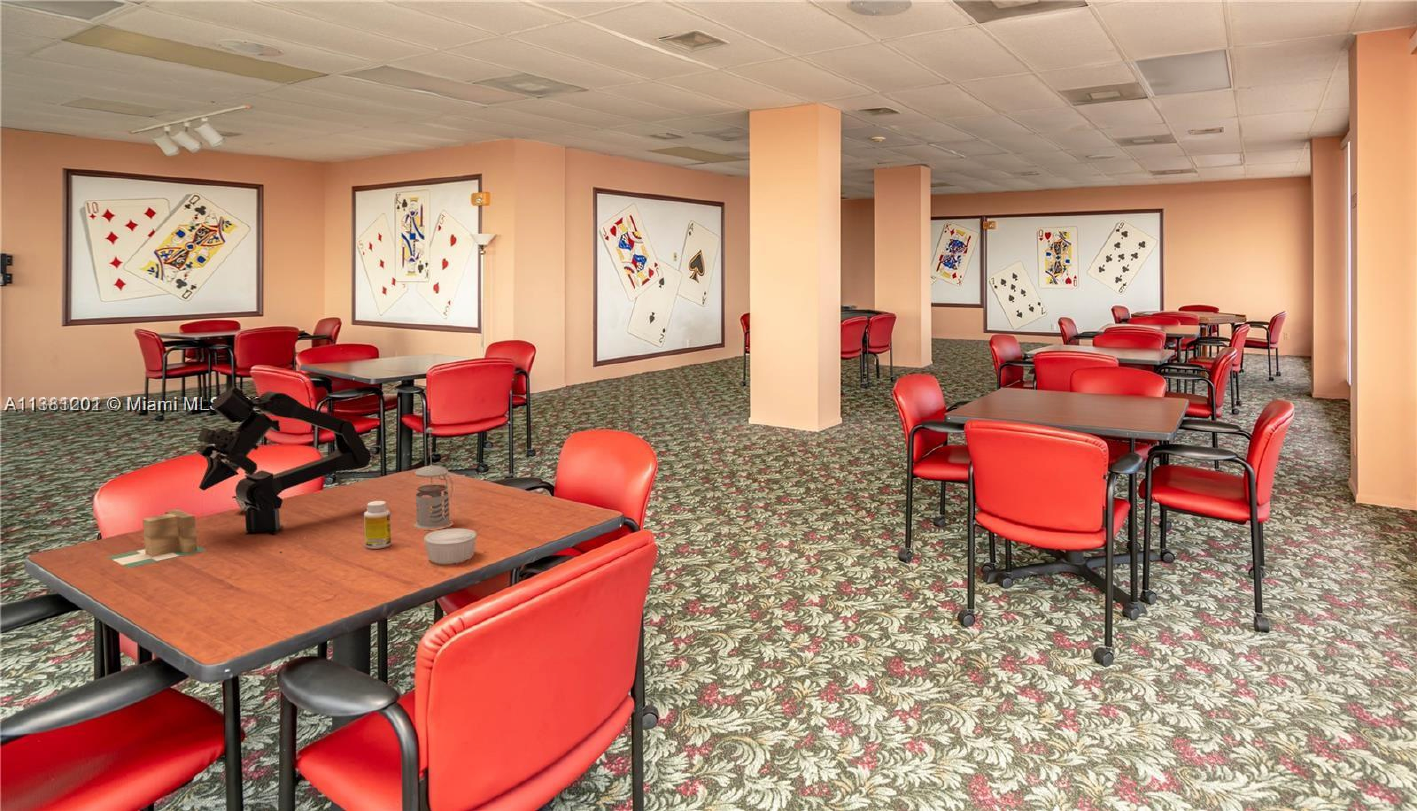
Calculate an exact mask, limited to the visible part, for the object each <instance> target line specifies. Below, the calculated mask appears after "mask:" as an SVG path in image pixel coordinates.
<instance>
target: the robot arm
mask: <svg viewBox="0 0 1417 811" xmlns="http://www.w3.org/2000/svg"><path fill="white" fill-rule="evenodd" d="M210 408H212V410H214V411H215V412H216V413H218V414H219V415H220V416H222V417H223V418H224V419H225V420H227V421H228V422H230V424H235V423H239V425H238V426H237V427H236V428H235V429H234V430H229V429H226V428H223V427H218V428H217V429H216V430H215V429H211V428H206V427H201V429H200V432H199V434H198V437H197V439H196V440H197V441H198V442H203V443H204V444H201V445H200V446H199V447H198V448H197V449H196V453H198V454H199V455H201V456H202V457H203V458H205V460H206V462H207V468H206V469H205V470H206V471H205V472H204V474H203V477H202V480H201V482H200V484H199V486H198V488H199V489H200V490H201V491H206V490H207V489H210V488H212V487H214V486H216V485H218V484H220V483H221V482H224V481H226V480H228V479H230V478H232V477H235V476H238V475H240V474H239V472H238V470H239V469H241V470H243V471H244V478H242V479H240V480H239V481H238V483H237V485H236V487H235V490H234V492H235V496H236V495H237V497H238V498H239V499H241V500H243V502H244V504H245V506H249V508H248V509H247V511H246V514H245V516H244V520H245V531H246V532H245V535H264V534H265V535H267V534H268V535H275V534H276V533H277V532H280V530H282V529H283V528H284V526H283V525H282V524H281V521H280V520H281V518H280V516H281V515H280V509H281V508H282V504H283V502H284V501H283V499H282V498H281V497H280V496H279V495H280V494H281V493H282V492H284V491H285V490H288V489H291V488H293V487H296V486H299V485H302V484H304V483H307V482H310V481H314V480H316V479H319V478H322V477H325V476H327V475H330V474H333V473H337V472H340V471H341V472H342V471H343V472H344V471H352V470H353V471H355V470H358V469H360V470H361V469H364V468H366V467H367V466H369V464H370V462H371V458H372V454H371V451H370V450H369V448H367V446H366V444H365V442H364V440H363V439H362V437H361V436H360V434H359V433H358V432H357V430H356V428H355V426H354V424H353V422H352V421H350V420H348V419H347V420H346V419H343V418H339V417H337V416H334V415H331V414H328V413H325V412H323V411H319V410H318V409H314V408H311V407H308V406H305V404H303V403H301V402H300V401H298V400H297V399H295V398H294V397H292V396H290V395H288V394H287V393H285V392H284V393H283V392H277V391H272V390H268V391H266V392H263V393H262V394H261V395H260V396H259V397H254V398H249V397H247V396H246V395H245V394H244V393H243V392H242V391H241V389H239V388H238V387H235V386H231V387H230V388H229V389H228V390H226V391H224V392H222V393H221V394H220V395H217V396H216V398H215V399H214V400H213V402H212V403H211V406H210ZM255 410H258V411H261V413H258V412H257V411H255ZM268 415H270V416H274V417H279V418H287V419H291V420H292V419H293V420H298V421H300V422H304V423H306V424H310V425H312V426H315V427H318V428H321V429H324V430H327V431H330V432H333V435H334V444H335V446H336V449H334V451H332V452H331V453H330V454H329V455H327V456H325V457H322V458H319V459H316V460H314V461H310V462H308V463H305V464H304V463H303V464H302V465H299V466H296V467H293V468H290V469H287V470H286V469H285V470H284V471H280V472H278V473H275V474H274V473H272V472H268V471H266V470H262V469H261V470H259V471H258V464H257V462H255V461H254V460H252V459H251V458H250V457H249V456H248V455H249V454H250V453H251V452H252V451H253V450H255V451H257V450H258V449H259V448H260V446H259V445H258V444H259V442H260V441H262V440H263V438H264V437H265V435H266V434H267V433H268V432H269V431H270V430H271V431H273V432H278V433H279V432H281V427H280V420H278V419H272V418H270V417H269V416H268Z"/></svg>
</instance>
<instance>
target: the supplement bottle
mask: <svg viewBox="0 0 1417 811" xmlns="http://www.w3.org/2000/svg"><path fill="white" fill-rule="evenodd" d="M386 503H387V502H386V501H384V500H383V501H382V500H375V501H374V500H373V501H370V502H368V503H367V504H366V506H367V509H366V511H364V513H363V525H364V527H363V528H364V542H365V547H366V548H367V549H375V550H378V549H384V548H387V547H389V546H390V545H391V543H392V534H391V532H392V531H391V512H390V510H389V509H387V505H386Z"/></svg>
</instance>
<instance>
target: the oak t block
mask: <svg viewBox="0 0 1417 811" xmlns="http://www.w3.org/2000/svg"><path fill="white" fill-rule="evenodd" d="M164 513H165V514H160V515H156V516H150V517H144V518H142V526H143V527H142V528H143V529H142V530H143V541H144V549H145V553H146V554H147V555H149V556H151V557H154V556H158V555H163V554H167V553H172V552H176V551H181V552H184V553H188V552H192V551H197V546H198V544H197V532H196V531H197V529H196V519H195V515H193V514H191V513H188V512H185V511H183V510H180V509H171V510H166V511H164Z"/></svg>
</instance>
